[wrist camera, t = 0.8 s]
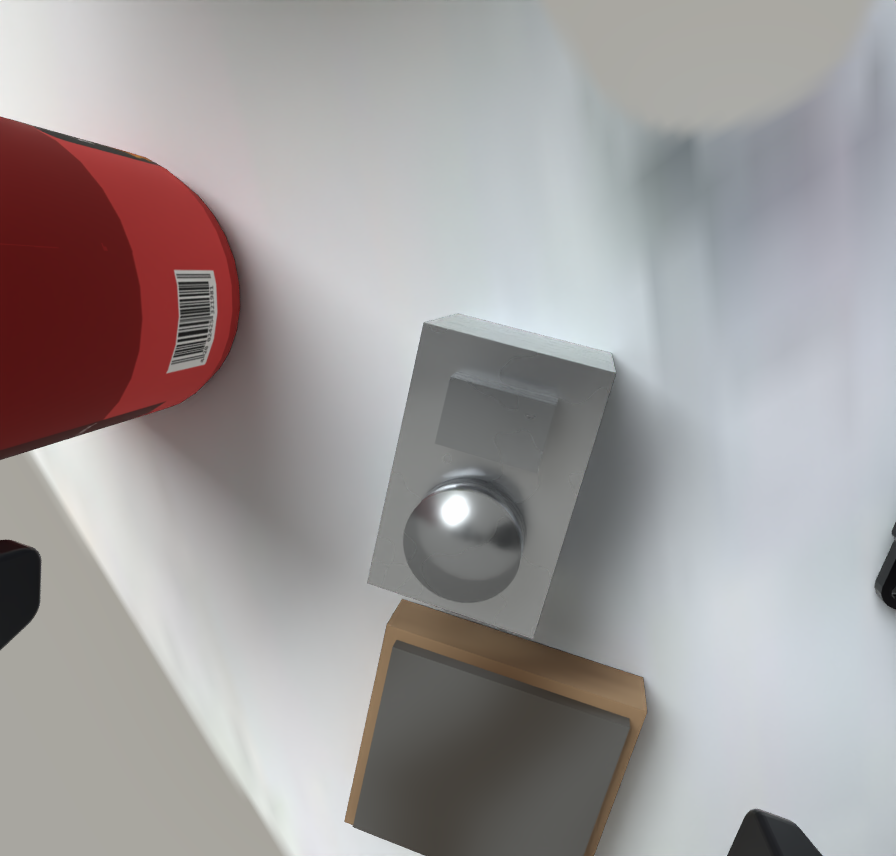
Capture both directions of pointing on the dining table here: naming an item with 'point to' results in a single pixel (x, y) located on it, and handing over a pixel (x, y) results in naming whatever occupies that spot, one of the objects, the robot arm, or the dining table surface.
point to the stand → (490, 742)
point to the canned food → (102, 288)
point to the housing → (488, 468)
